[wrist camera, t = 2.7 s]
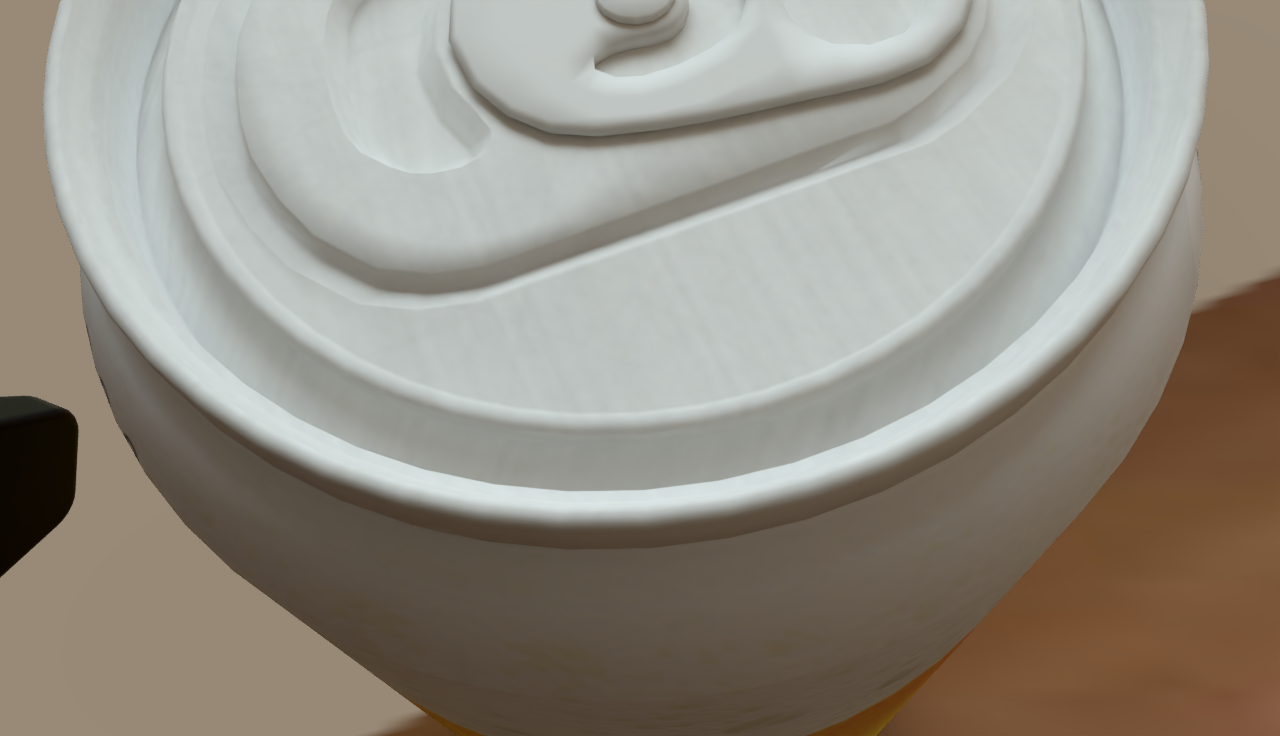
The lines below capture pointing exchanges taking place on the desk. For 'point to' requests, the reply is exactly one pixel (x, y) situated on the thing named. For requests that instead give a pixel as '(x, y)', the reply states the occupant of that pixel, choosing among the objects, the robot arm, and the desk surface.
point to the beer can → (632, 324)
